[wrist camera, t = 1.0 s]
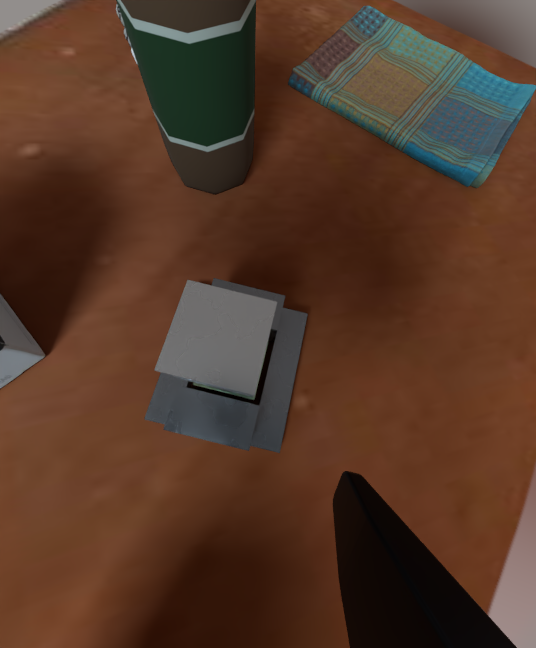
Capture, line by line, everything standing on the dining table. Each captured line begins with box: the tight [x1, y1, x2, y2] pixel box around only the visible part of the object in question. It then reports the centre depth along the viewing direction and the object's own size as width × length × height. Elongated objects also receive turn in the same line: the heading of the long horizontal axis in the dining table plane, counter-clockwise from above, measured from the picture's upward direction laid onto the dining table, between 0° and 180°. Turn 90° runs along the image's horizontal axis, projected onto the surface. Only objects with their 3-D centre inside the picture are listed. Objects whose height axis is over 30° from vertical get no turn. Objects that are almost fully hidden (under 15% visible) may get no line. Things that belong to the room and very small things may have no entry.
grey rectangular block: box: [155, 280, 277, 400], centre depth 15 cm, size 4×4×9 cm
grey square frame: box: [145, 278, 308, 453], centre depth 17 cm, size 10×9×4 cm
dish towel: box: [288, 6, 536, 188], centre depth 29 cm, size 17×23×2 cm
